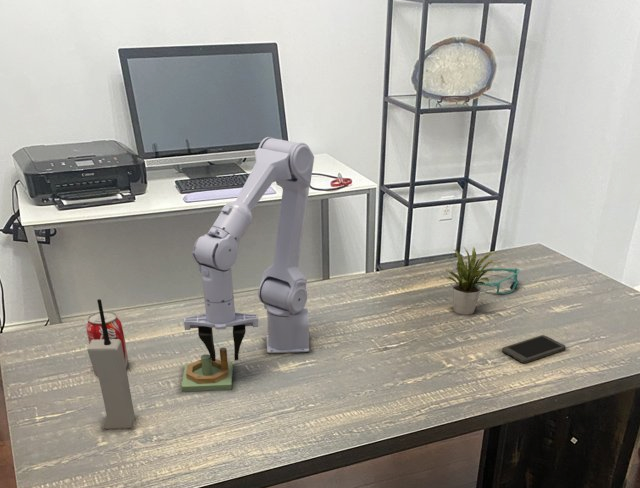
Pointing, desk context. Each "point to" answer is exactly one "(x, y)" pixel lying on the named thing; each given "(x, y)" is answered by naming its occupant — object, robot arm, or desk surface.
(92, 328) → the soda can
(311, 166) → the robot arm
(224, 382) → the peg stand
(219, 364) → the maple ring
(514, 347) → the cell phone
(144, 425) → the desk surface
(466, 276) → the house plant
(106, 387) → the vintage mobile phone
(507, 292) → the sunglasses
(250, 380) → the desk surface
